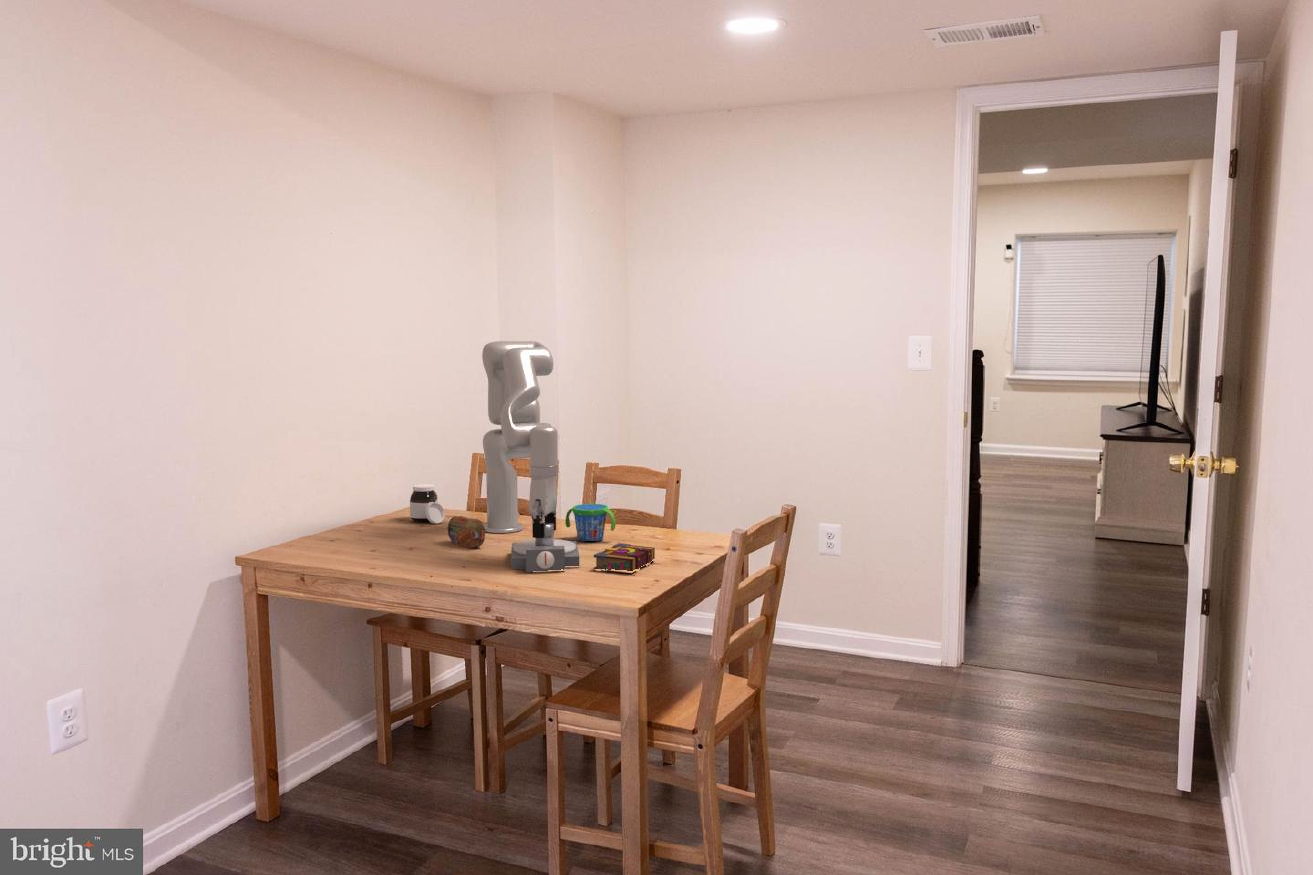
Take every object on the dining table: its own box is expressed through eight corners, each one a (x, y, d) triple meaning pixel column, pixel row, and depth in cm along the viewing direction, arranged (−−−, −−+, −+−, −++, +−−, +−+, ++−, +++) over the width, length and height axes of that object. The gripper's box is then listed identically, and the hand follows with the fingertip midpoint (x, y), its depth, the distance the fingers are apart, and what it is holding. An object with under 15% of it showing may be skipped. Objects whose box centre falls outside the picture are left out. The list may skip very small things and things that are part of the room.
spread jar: (418, 517, 328) (418, 482, 326) (451, 518, 326) (450, 483, 325) (404, 524, 316) (403, 488, 315) (438, 525, 314) (437, 489, 313)
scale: (512, 553, 277) (511, 532, 277) (576, 551, 280) (576, 530, 279) (510, 573, 255) (510, 550, 255) (580, 571, 258) (580, 549, 257)
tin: (447, 542, 291) (446, 514, 290) (456, 540, 294) (455, 512, 293) (478, 550, 281) (477, 521, 280) (487, 548, 283) (486, 519, 282)
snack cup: (558, 540, 294) (558, 507, 292) (577, 534, 303) (577, 501, 302) (604, 546, 286) (603, 511, 285) (621, 539, 296) (621, 505, 295)
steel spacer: (539, 543, 272) (539, 521, 272) (556, 544, 271) (556, 522, 270) (532, 547, 268) (532, 525, 267) (550, 548, 266) (550, 526, 266)
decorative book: (655, 563, 268) (655, 545, 268) (630, 577, 253) (630, 558, 253) (618, 558, 273) (618, 541, 272) (591, 572, 258) (591, 553, 257)
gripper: (541, 466, 276) (541, 526, 278) (519, 476, 259) (520, 540, 261) (566, 467, 274) (567, 528, 276) (546, 477, 258) (547, 541, 260)
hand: (544, 533), depth 269 cm, fingers open, 9 cm apart
